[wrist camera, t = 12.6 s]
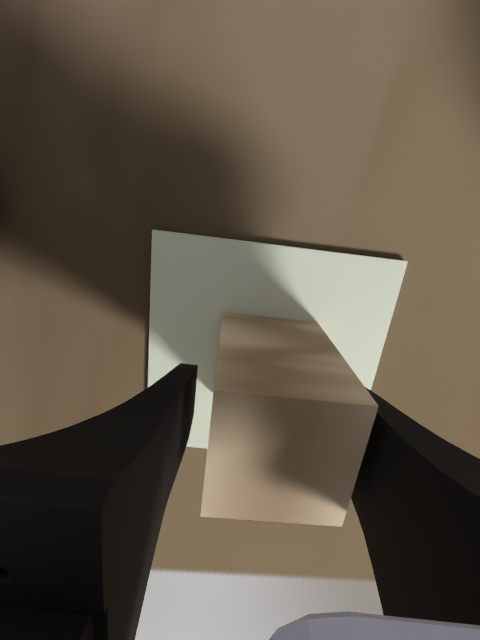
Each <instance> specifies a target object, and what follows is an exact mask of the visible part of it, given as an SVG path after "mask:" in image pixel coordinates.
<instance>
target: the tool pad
mask: <svg viewBox="0 0 480 640" xmlns="http://www.w3.org/2000/svg"><path fill="white" fill-rule="evenodd" d="M407 263H408V261H405V260H397V259H389V258H381V257H373V256H365V255H357V254H349V253H340V252H332V251H324V250H316V249H308V248H300V247H292V246H284V245H276V244H268V243H259V242H251V241H243V240H235V239H227V238H219V237H211V236H203V235H195V234H187V233H178V232H170V231H162V230H152V250H151V286H150V322H149V359H148V387H150V386H151V385H153V384H154V383H155V382H157V381H158V380H159V379H161V378H162V377H163V376H165V375H166V374H167V373H168V372H170V371H171V370H172V369H174V368H175V367H176V366H178V365H179V364H180V363H183V364H192V365H198V370H197V382H196V394H195V406H194V416H193V421H192V426H191V430H190V435H189V439H188V442H187V445H186V446H188V447H197V448H206V449H208V440H209V430H210V421H211V411H212V402H213V392H214V383H215V374H216V365H217V356H218V347H219V338H220V329H221V320H222V312H225V313H234V314H244V315H253V316H262V317H272V318H281V319H290V320H300V321H309V322H318V323H319V325H320V326H321V328H322V329H323V330H324V332H325V333H326V334H327V336H328V337H329V339H330V340H331V341H332V343H333V344H334V345H335V347H336V348H337V350H338V351H339V352H340V354H341V355H342V356H343V358H344V359H345V361H346V362H347V363H348V365H349V366H350V367H351V369H352V370H353V372H354V373H355V374H356V376H357V377H358V378H359V380H360V381H361V383H362V384H363V385H364V387H366V388H368V389H369V390H371V388H372V384H373V381H374V377H375V374H376V370H377V367H378V363H379V360H380V356H381V353H382V350H383V346H384V343H385V339H386V336H387V332H388V329H389V325H390V322H391V318H392V315H393V311H394V308H395V304H396V301H397V297H398V294H399V291H400V287H401V284H402V280H403V277H404V273H405V270H406V266H407Z"/></svg>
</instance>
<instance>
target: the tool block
mask: <svg viewBox="0 0 480 640" xmlns="http://www.w3.org/2000/svg"><path fill="white" fill-rule="evenodd" d="M378 407H379V406H378V404H377V403H376V402H375V400H374V399H373V398H372V396H371V395H370V394H369V392H368V391H367V389H366V388H365V387H364V385H363V384H362V383H361V381H360V380H359V378H358V377H357V376H356V374H355V373H354V372H353V370H352V369H351V367H350V366H349V365H348V363H347V362H346V361H345V359H344V358H343V356H342V355H341V354H340V352H339V351H338V350H337V348H336V347H335V345H334V344H333V343H332V341H331V340H330V339H329V337H328V336H327V334H326V333H325V332H324V330H323V329H322V328H321V326H320V325H319V323H318V322H309V321H300V320H290V319H281V318H272V317H262V316H253V315H244V314H234V313H225V312H222V320H221V329H220V338H219V347H218V356H217V365H216V374H215V383H214V392H213V402H212V411H211V421H210V430H209V440H208V449H207V459H206V469H205V478H204V488H203V497H202V507H201V517H215V518H229V519H243V520H257V521H271V522H285V523H299V524H313V525H327V526H341V527H342V525H343V522H344V519H345V515H346V512H347V509H348V506H349V502H350V499H351V496H352V492H353V489H354V486H355V482H356V479H357V476H358V473H359V469H360V466H361V463H362V459H363V456H364V453H365V449H366V446H367V443H368V440H369V436H370V433H371V430H372V426H373V423H374V420H375V416H376V413H377V410H378Z"/></svg>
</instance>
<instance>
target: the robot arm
mask: <svg viewBox="0 0 480 640" xmlns="http://www.w3.org/2000/svg"><path fill="white" fill-rule="evenodd" d="M197 370H198V365H192V364H183V363H180V364H179V365H178V366H176V367H175V368H174V369H172V370H171V371H170V372H168V373H167V374H166V375H165V376H163V377H162V378H161V379H159V380H158V381H157V382H155V383H154V384H153V385H151V386H150V387H148V388H147V389H145V390H144V391H142V392H141V393H139V394H137V395H136V396H134V397H133V398H131V399H129V400H128V401H126V402H124V403H122V404H120V405H119V406H117V407H115V408H113V409H111V410H109V411H107V412H104V413H102V414H100V415H97V416H95V417H92V418H90V419H88V420H85V421H83V422H80V423H78V424H75V425H73V426H70V427H67V428H64V429H61V430H58V431H55V432H52V433H48V434H45V435H41V436H38V437H35V438H31V439H27V440H23V441H19V442H14V443H10V444H6V445H2V446H0V640H135V635H136V630H137V626H138V622H139V617H140V613H141V608H142V604H143V600H144V595H145V591H146V586H147V581H148V577H149V573H150V569H151V565H152V561H153V556H154V552H155V548H156V544H157V539H158V535H159V531H160V527H161V523H162V519H163V515H164V511H165V508H166V504H167V501H168V498H169V495H170V492H171V489H172V486H173V483H174V480H175V477H176V474H177V472H178V469H179V466H180V463H181V460H182V457H183V454H184V451H185V448H186V445H187V442H188V439H189V435H190V430H191V426H192V421H193V416H194V406H195V394H196V382H197ZM365 388H366V387H365ZM366 389H367V391H368V392H369V394H370V395H371V396H372V398H373V399H374V400H375V402H376V403H377V404H378V406H379V407H378V410H377V413H376V416H375V420H374V423H373V426H372V430H371V433H370V436H369V440H368V443H367V446H366V449H365V453H364V456H363V459H362V463H361V466H360V469H359V473H358V476H357V479H356V482H355V486H354V489H353V492H352V496H351V499H352V501H353V504H354V507H355V510H356V512H357V515H358V518H359V521H360V524H361V527H362V530H363V533H364V536H365V540H366V544H367V548H368V552H369V556H370V559H371V563H372V567H373V571H374V575H375V580H376V584H377V587H378V592H379V596H380V601H381V605H382V609H383V614H384V615H375V614H365V613H356V612H334V613H320V614H308V615H306V616H304V617H302V618H300V619H297V620H295V621H293V622H291V623H289V624H286V625H284V626H282V627H280V628H278V629H277V630H276V632H275V633H274V634H273V635H272V637H271V638H270V639H269V640H480V459H479V458H477V457H475V456H473V455H471V454H469V453H467V452H465V451H464V450H462V449H460V448H458V447H456V446H455V445H453V444H451V443H449V442H447V441H446V440H444V439H442V438H441V437H439V436H437V435H436V434H434V433H433V432H431V431H429V430H428V429H426V428H425V427H423V426H421V425H420V424H418V423H417V422H415V421H414V420H412V419H411V418H409V417H408V416H407V415H405V414H404V413H402V412H401V411H399V410H398V409H396V408H395V407H394V406H392V405H391V404H389V403H388V402H387V401H385V400H384V399H382V398H381V397H379V396H378V395H377V394H375V393H374V392H372V391H371V390H369V389H368V388H366Z"/></svg>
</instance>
